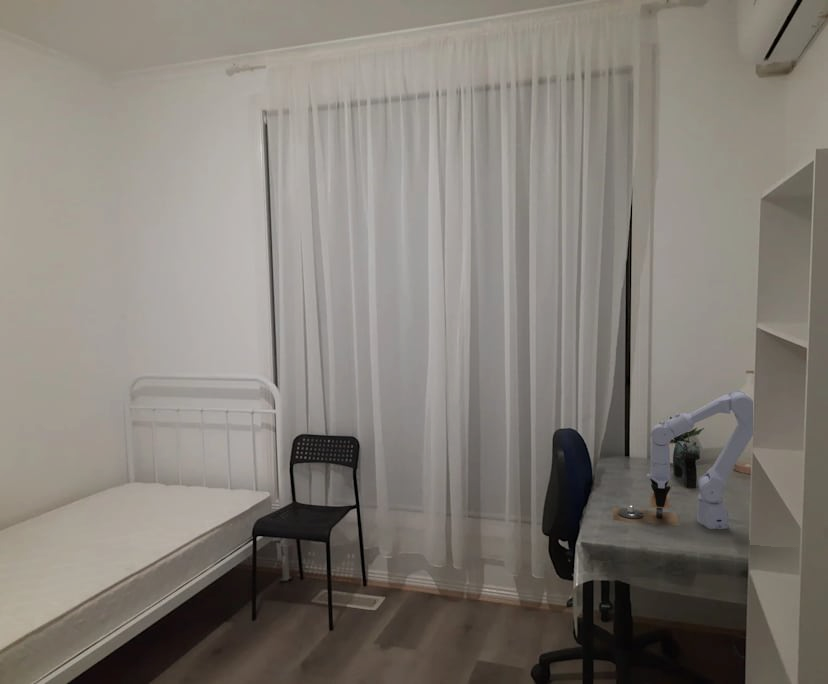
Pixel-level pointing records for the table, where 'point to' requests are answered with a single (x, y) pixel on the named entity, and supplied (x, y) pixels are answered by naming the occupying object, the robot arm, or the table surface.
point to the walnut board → (650, 517)
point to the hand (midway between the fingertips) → (659, 503)
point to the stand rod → (659, 513)
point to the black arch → (686, 461)
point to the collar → (653, 501)
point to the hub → (631, 513)
